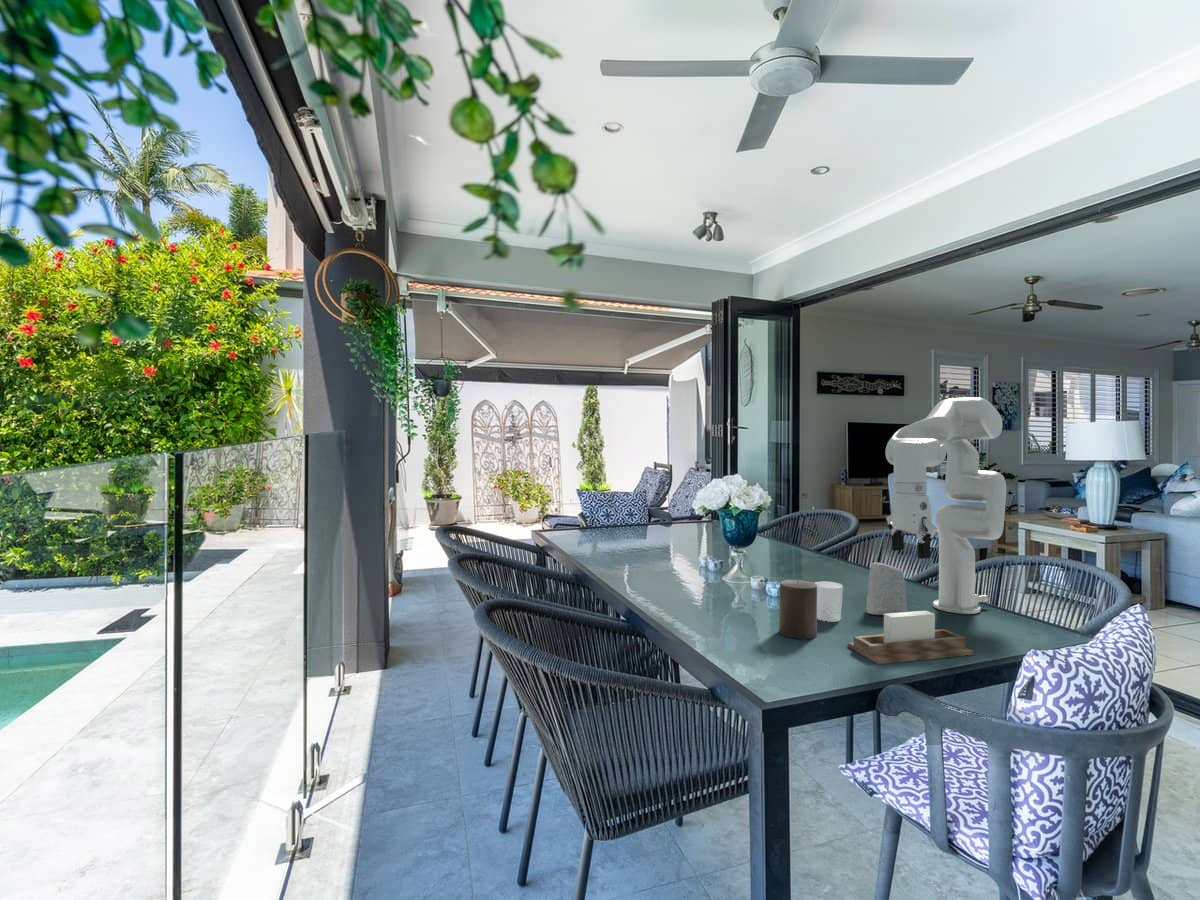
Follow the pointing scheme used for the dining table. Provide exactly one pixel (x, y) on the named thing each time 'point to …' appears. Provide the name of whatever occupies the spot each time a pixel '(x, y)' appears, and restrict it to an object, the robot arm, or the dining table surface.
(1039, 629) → the dining table surface
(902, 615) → the white rectangular block
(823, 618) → the white cup
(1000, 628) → the dining table surface
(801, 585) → the pillar candle
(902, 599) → the decorative stone
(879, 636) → the track frame
